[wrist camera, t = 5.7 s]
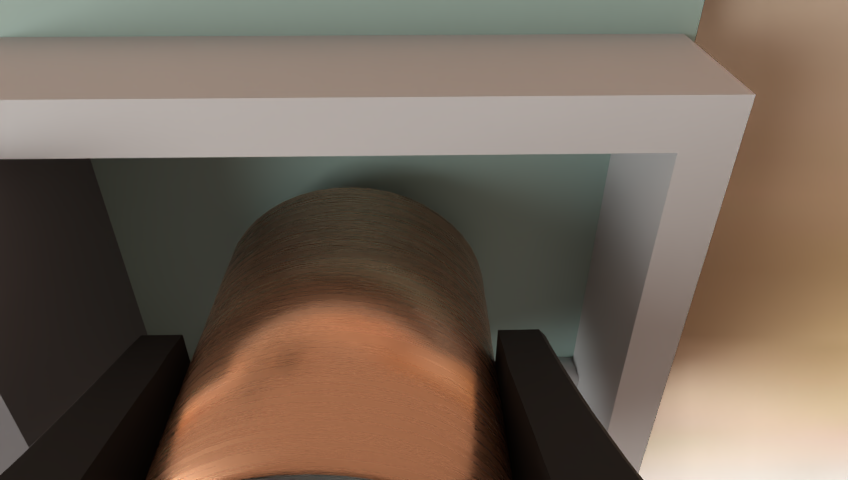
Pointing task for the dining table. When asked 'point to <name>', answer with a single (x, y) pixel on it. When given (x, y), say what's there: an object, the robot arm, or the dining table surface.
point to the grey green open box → (357, 169)
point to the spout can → (342, 352)
